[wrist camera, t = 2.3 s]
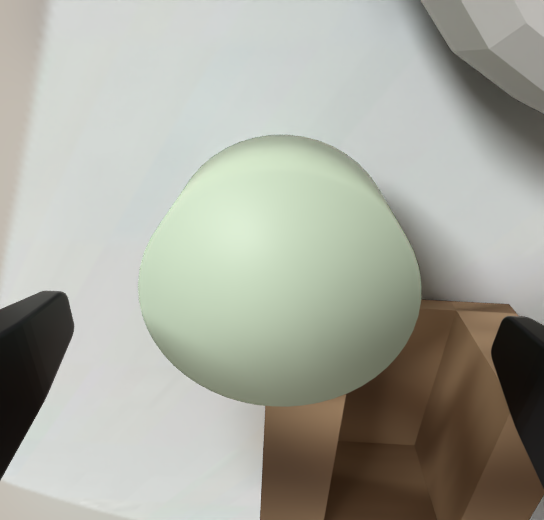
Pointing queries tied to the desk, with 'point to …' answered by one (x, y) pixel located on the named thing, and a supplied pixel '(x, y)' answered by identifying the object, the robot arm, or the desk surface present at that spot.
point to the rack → (408, 435)
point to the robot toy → (497, 41)
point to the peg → (280, 275)
